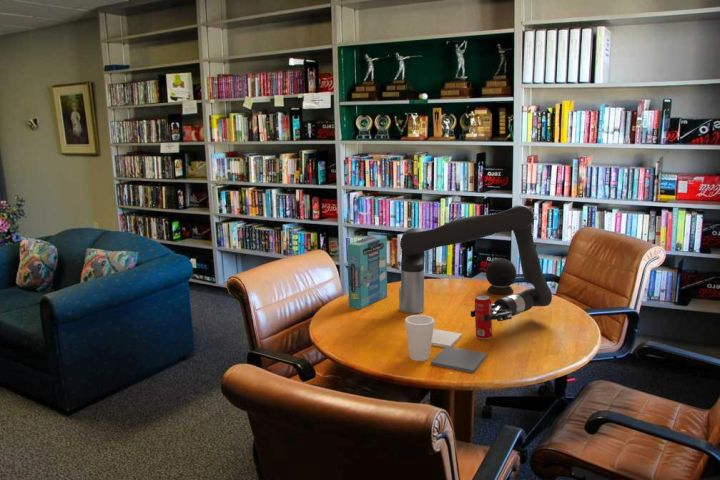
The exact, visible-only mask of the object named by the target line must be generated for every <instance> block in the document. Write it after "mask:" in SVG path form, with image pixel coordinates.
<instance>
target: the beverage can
mask: <svg viewBox="0 0 720 480" xmlns="http://www.w3.org/2000/svg"><path fill="white" fill-rule="evenodd" d="M491 304H492V299H491V296H490V295H488V294H479V295H476V296H475V299H474V310H475V317H474V319H475V321H474V322H475V337H476V338H477V339H479V340H490V339H491V338H493V320H490V321H487V322H484V321H483V317H484V315H489V316H490V314H492V308H491Z"/></svg>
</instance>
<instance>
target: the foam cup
mask: <svg viewBox="0 0 720 480" xmlns="http://www.w3.org/2000/svg"><path fill="white" fill-rule="evenodd" d="M404 322H405V323H404V326H405V331H406V338H407V346H408V353H409V358H410V359H411V360H413V361H416V362H425V361H427V360H429V358H430V354H431V348H432V345H431V342H432V336H433V329H435V319H434V317H432V316H430V315H426V314H425V315H424V314H412V315H410V316H406V317H405V319H404Z"/></svg>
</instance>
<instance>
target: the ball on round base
mask: <svg viewBox="0 0 720 480" xmlns="http://www.w3.org/2000/svg"><path fill="white" fill-rule="evenodd" d="M516 269H517V268H516V266H515V265H514V264H513V262H511V261H510V260H509V259H506V258H503V257H502V258H501V257H499V258H496V259H493V260H491V261H490V262H489V263H488V264H487V267H486V269H485V277H486V279H487V280H486V281H487V282H488V283H489V284H490V285H489V287H488V288H487V293H489V294H492V295H495V296H509V295H513V294H514V289H513V287H512V285H513V283H515V280H516V278H517V270H516Z"/></svg>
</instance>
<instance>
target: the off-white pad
mask: <svg viewBox="0 0 720 480" xmlns="http://www.w3.org/2000/svg"><path fill="white" fill-rule="evenodd" d="M462 336H463V333H460V332H459V333H458V332H453V331H448V330H441V329H436V328H434V329H433V336H432V342H431V346H435V347H440V348H445V347H446V346H448V347H453V346H454V345H455V344H456V343H457V342H458V341H459V340H461V338H462Z"/></svg>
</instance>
